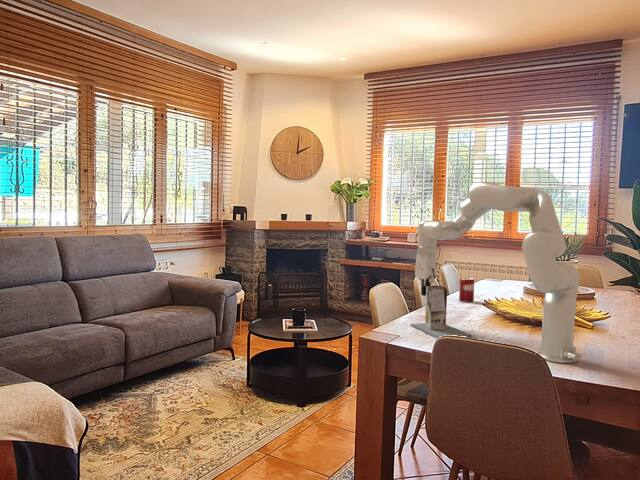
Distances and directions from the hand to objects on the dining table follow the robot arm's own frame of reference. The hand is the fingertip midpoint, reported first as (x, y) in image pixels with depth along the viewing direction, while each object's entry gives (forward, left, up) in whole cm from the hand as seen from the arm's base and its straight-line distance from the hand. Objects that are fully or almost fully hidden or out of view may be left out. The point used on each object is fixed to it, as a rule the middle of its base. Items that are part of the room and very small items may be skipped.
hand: (425, 295), depth 206 cm
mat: (-12, 0, -12) cm, 17 cm away
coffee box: (-8, 0, -12) cm, 14 cm away
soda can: (+39, -47, -12) cm, 62 cm away
